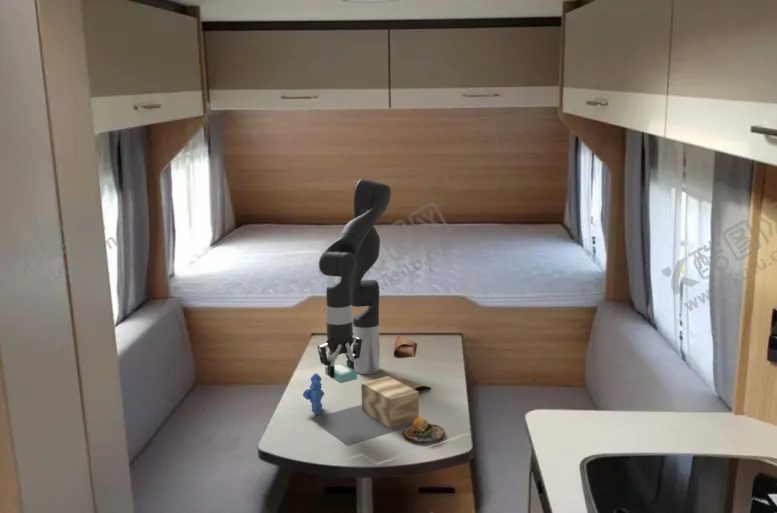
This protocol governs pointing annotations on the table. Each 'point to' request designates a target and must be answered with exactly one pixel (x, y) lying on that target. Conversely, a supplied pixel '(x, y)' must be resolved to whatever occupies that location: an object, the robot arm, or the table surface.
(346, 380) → the card box
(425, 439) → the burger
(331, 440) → the table surface
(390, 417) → the oak block
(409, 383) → the clay tablet
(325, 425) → the mat
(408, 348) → the sunglasses case
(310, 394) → the blue knobby sculpture
